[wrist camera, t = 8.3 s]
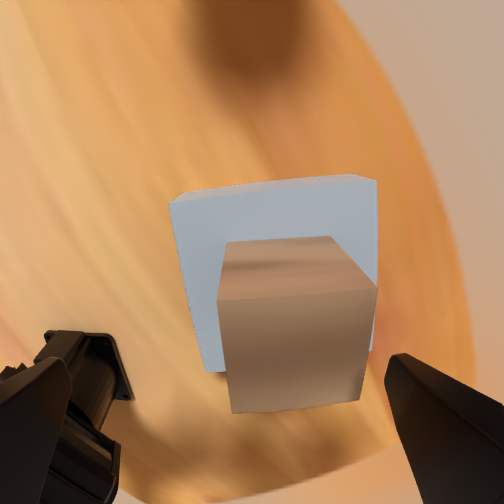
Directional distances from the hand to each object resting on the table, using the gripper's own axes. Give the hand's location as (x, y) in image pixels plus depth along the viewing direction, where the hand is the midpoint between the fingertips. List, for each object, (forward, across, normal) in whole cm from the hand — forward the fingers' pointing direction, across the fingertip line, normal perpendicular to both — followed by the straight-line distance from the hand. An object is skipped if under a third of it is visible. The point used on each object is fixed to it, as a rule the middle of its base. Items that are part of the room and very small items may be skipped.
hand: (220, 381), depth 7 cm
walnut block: (+8, -2, +1) cm, 9 cm away
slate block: (+12, -3, +1) cm, 13 cm away
